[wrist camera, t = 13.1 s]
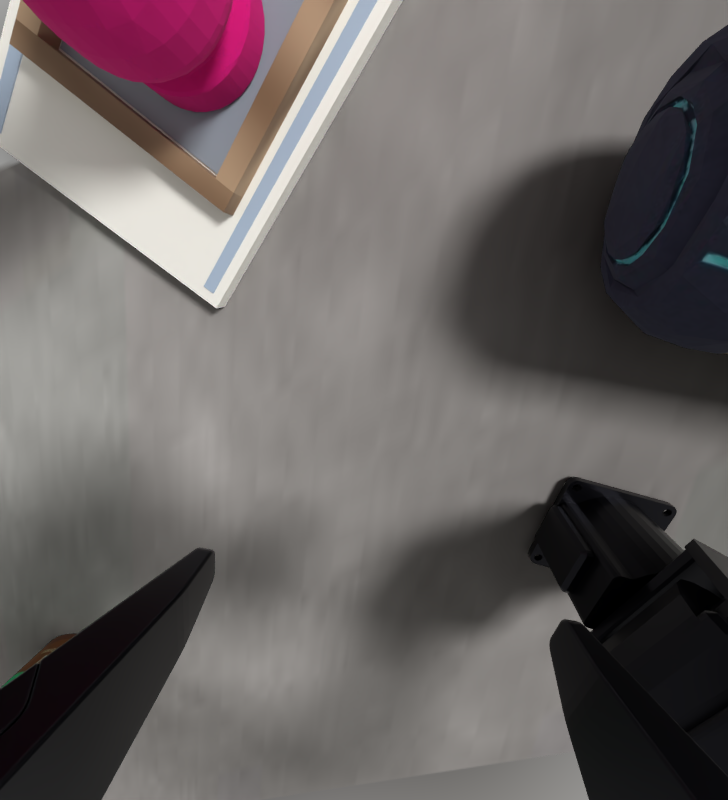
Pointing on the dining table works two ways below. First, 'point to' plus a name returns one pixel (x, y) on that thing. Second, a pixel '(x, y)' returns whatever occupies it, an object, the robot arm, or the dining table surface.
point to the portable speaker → (676, 210)
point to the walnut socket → (221, 190)
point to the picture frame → (192, 131)
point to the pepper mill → (166, 43)
